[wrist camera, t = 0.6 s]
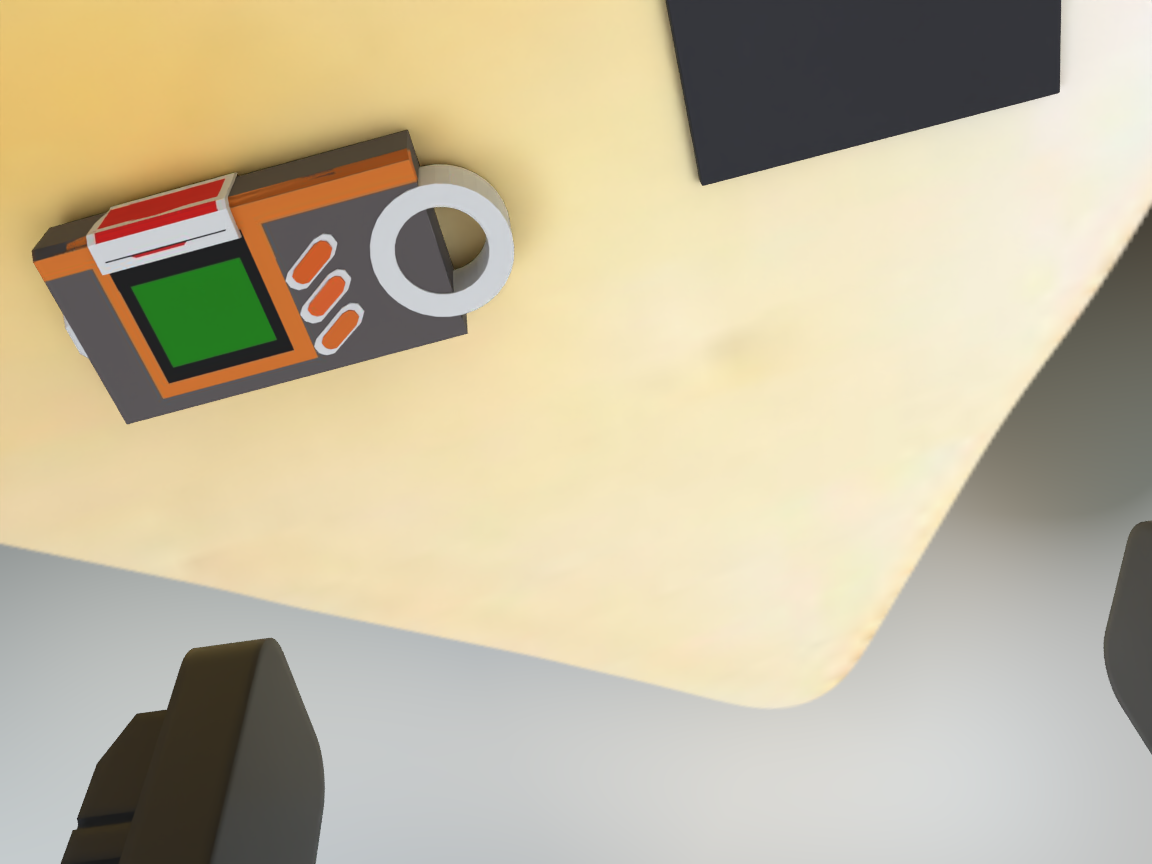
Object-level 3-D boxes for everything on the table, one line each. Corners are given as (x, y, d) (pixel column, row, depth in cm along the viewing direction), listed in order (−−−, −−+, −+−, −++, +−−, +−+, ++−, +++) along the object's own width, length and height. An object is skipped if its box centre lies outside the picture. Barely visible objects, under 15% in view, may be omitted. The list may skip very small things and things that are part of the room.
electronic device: (536, 320, 36) (114, 432, 36) (529, 282, 38) (134, 389, 39) (481, 129, 32) (11, 257, 33) (477, 101, 35) (40, 221, 35)
